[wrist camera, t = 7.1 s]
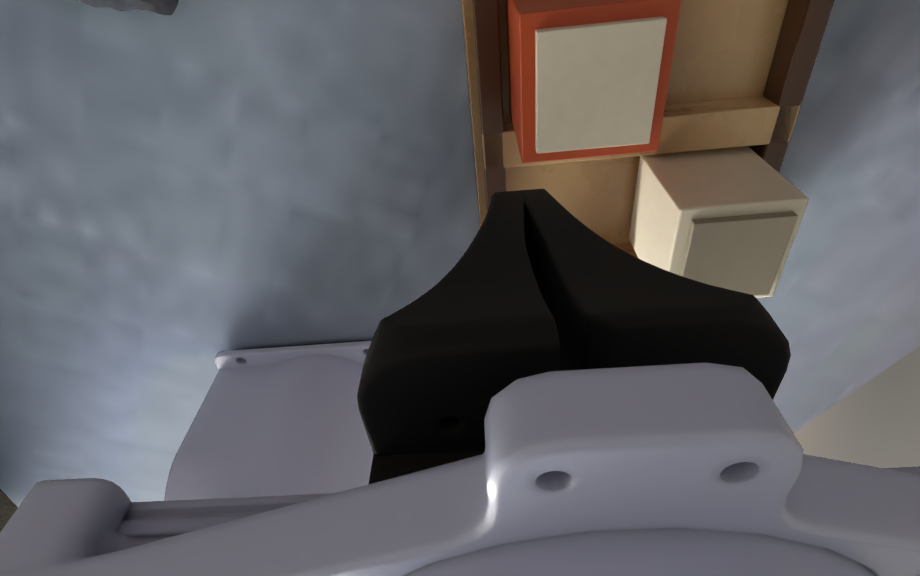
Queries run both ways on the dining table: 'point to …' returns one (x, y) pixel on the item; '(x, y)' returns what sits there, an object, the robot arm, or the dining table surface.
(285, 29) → the dining table surface
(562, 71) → the red block with panel
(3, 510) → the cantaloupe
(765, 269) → the cream panelled block
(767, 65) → the divided wooden tray
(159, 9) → the dark slate chunk
